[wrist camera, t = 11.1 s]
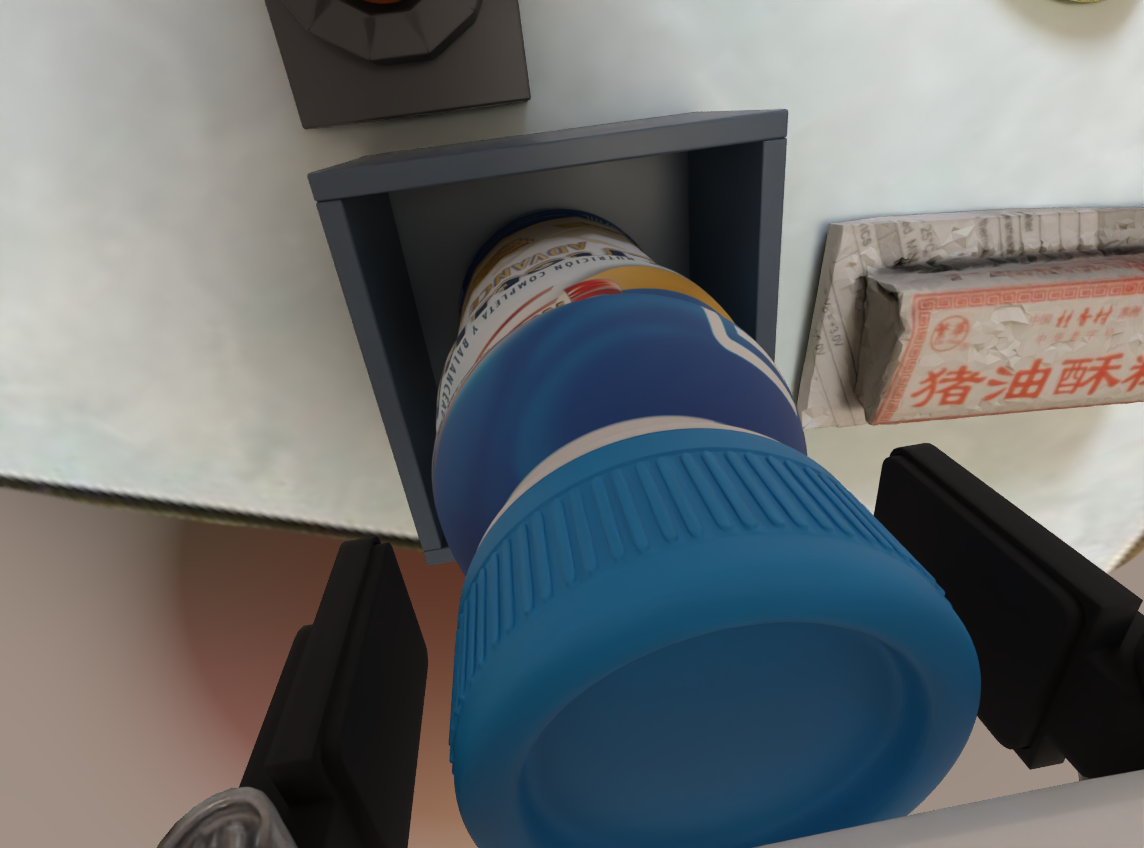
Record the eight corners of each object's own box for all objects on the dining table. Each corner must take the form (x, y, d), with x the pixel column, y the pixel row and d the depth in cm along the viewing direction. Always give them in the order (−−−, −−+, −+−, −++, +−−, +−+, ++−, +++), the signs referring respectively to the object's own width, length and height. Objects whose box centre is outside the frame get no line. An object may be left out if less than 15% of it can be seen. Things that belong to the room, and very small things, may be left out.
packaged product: (1321, 211, 23) (1199, 434, 27) (1190, 196, 27) (1103, 391, 32) (889, 237, 21) (838, 470, 26) (821, 216, 25) (788, 420, 30)
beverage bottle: (512, 426, 27) (557, 1005, 9) (417, 259, 23) (181, 719, 5) (681, 350, 26) (1072, 822, 9) (613, 163, 22) (1079, 332, 5)
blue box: (364, 155, 22) (305, 173, 15) (696, 111, 23) (789, 108, 16) (442, 455, 28) (427, 566, 21) (700, 413, 29) (766, 508, 22)
